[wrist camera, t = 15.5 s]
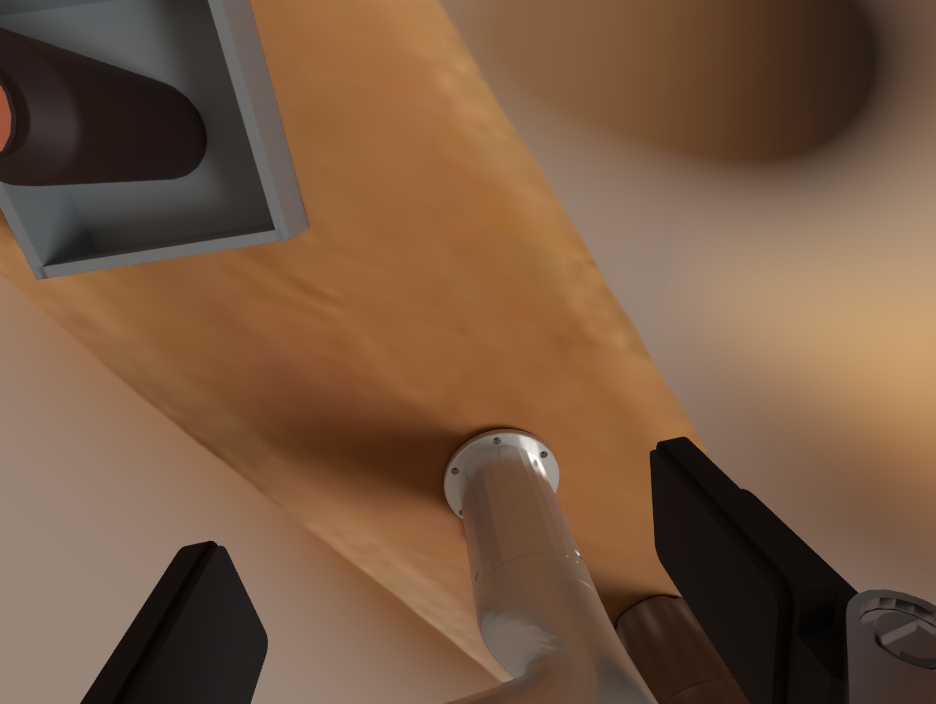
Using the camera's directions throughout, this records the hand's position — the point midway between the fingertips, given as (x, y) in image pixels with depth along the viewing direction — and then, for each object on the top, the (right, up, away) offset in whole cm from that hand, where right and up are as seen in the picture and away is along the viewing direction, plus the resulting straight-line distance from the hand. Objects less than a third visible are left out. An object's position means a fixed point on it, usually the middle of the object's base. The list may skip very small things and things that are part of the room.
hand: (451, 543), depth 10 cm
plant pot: (+26, -33, +54) cm, 68 cm away
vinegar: (-23, +21, +26) cm, 40 cm away
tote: (-23, +21, +26) cm, 41 cm away
